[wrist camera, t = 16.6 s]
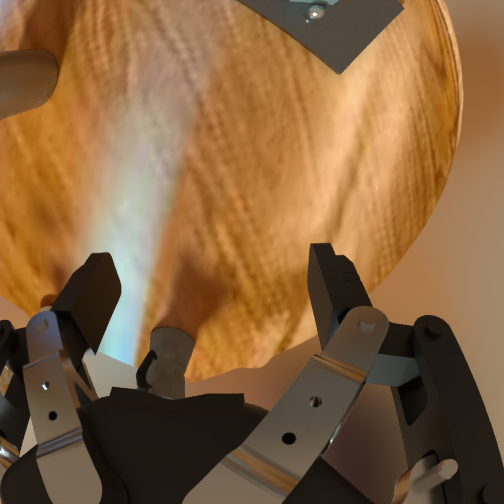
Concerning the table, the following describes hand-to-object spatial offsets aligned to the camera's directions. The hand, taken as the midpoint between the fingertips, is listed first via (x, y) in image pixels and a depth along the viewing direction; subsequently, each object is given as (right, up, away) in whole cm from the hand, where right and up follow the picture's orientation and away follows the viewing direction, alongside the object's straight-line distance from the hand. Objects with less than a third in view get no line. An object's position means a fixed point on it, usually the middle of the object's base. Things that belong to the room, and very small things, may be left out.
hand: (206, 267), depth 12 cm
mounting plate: (+8, +32, +13) cm, 35 cm away
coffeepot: (-14, -16, +44) cm, 49 cm away
